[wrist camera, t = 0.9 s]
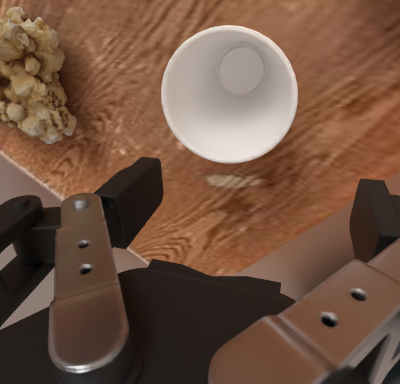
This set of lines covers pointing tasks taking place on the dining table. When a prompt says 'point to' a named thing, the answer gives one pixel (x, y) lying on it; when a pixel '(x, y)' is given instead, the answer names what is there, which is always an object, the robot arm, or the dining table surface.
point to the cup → (229, 94)
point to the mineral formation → (32, 78)
